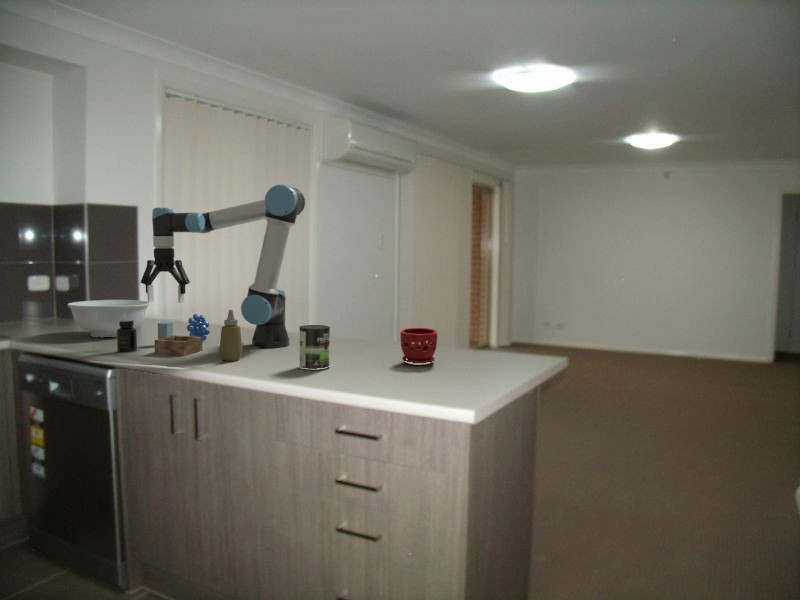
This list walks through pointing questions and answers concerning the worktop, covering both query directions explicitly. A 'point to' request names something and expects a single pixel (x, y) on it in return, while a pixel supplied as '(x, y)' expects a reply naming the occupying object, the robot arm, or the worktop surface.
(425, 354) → the plant pot
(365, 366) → the worktop surface
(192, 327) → the grapes
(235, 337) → the squeeze bottle
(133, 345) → the supplement bottle
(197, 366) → the worktop surface
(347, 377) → the worktop surface
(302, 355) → the coffee can
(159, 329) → the lid
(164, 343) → the box
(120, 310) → the bowl
